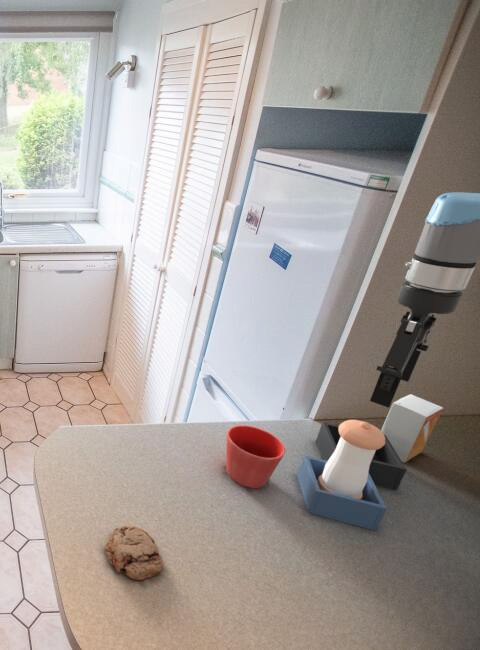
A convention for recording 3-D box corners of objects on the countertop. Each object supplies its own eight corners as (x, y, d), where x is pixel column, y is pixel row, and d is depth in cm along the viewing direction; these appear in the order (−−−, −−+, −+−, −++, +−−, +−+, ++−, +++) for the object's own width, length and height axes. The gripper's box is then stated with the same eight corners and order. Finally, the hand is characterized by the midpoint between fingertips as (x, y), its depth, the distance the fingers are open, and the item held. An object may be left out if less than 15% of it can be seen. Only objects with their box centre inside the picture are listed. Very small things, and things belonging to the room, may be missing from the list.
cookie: (155, 534, 87) (157, 523, 86) (166, 586, 77) (169, 574, 76) (101, 527, 89) (103, 516, 87) (106, 577, 79) (108, 565, 78)
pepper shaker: (327, 481, 98) (357, 408, 90) (365, 506, 92) (400, 429, 84) (305, 491, 95) (333, 416, 88) (342, 517, 89) (376, 439, 82)
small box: (405, 463, 104) (427, 417, 99) (372, 447, 109) (392, 402, 104) (422, 453, 107) (444, 407, 102) (390, 437, 112) (409, 393, 107)
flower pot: (225, 489, 97) (236, 453, 93) (213, 455, 107) (222, 421, 103) (281, 498, 95) (294, 462, 91) (263, 462, 105) (274, 428, 101)
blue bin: (358, 491, 97) (367, 469, 94) (376, 531, 87) (387, 508, 85) (296, 475, 101) (304, 455, 98) (307, 512, 91) (316, 490, 89)
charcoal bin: (377, 454, 107) (385, 435, 104) (396, 490, 97) (406, 469, 94) (315, 441, 111) (322, 422, 109) (328, 474, 101) (336, 453, 99)
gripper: (420, 266, 87) (383, 362, 96) (384, 296, 73) (344, 405, 82) (476, 275, 82) (431, 376, 90) (448, 310, 68) (398, 425, 76)
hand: (389, 390), depth 86 cm, fingers open, 13 cm apart
